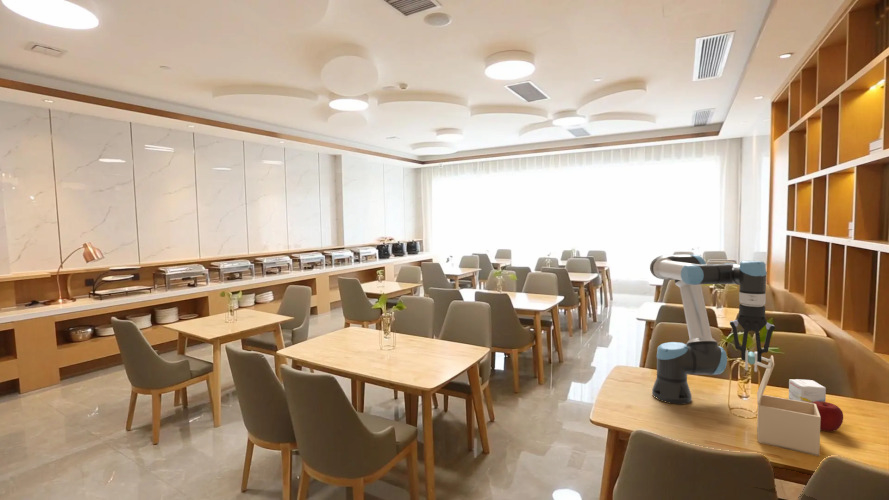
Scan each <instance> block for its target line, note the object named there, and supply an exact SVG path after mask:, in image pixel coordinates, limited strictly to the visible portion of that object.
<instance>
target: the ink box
mask: <svg viewBox="0 0 889 500" xmlns="http://www.w3.org/2000/svg"><path fill="white" fill-rule="evenodd" d="M788 380H789V381H788V399H791V400H796V401H802V402H808V403H812V402H815V401H823V402H826V393H827V392H826V391H827V388H826V386H823V385H821V384H820V383H818V382H817V381H815V380H811V379H799V378H796V379H788Z"/></svg>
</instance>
